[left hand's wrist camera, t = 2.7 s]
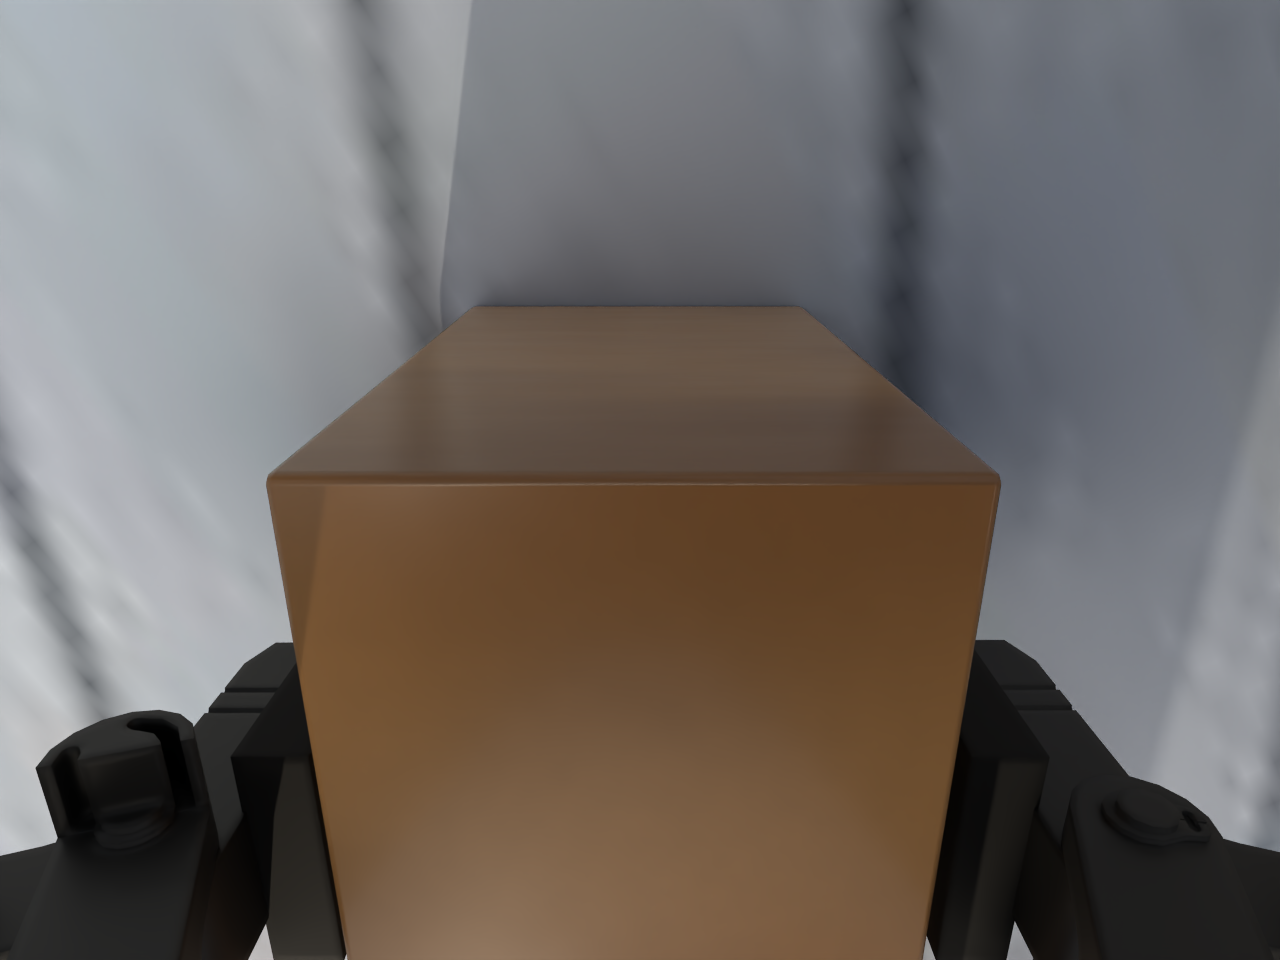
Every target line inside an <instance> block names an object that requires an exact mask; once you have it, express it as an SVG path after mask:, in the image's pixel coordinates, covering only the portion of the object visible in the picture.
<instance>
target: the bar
mask: <svg viewBox="0 0 1280 960" xmlns="http://www.w3.org/2000/svg"><path fill="white" fill-rule="evenodd" d="M266 487H267V492H268V498H269V504H270V510H271V516H272V522H273V527H274V533H275V539H276V545H277V551H278V557H279V562H280V568H281V574H282V580H283V586H284V592H285V597H286V603H287V609H288V615H289V621H290V627H291V632H292V638H293V644H294V650H295V656H296V662H297V667H298V673H299V679H300V685H301V691H302V697H303V702H304V708H305V714H306V720H307V726H308V731H309V737H310V743H311V749H312V755H313V761H314V766H315V772H316V778H317V784H318V790H319V796H320V801H321V807H322V813H323V819H324V825H325V831H326V836H327V842H328V848H329V854H330V860H331V866H332V871H333V877H334V883H335V889H336V895H337V901H338V906H339V912H340V918H341V924H342V930H343V936H344V941H345V947H346V953H347V959H348V960H922V959H923V953H924V947H925V941H926V935H927V929H928V923H929V917H930V911H931V905H932V899H933V893H934V887H935V881H936V875H937V869H938V863H939V857H940V851H941V845H942V839H943V832H944V826H945V820H946V814H947V808H948V802H949V796H950V790H951V784H952V778H953V772H954V766H955V760H956V754H957V748H958V742H959V736H960V730H961V724H962V718H963V712H964V706H965V700H966V694H967V688H968V682H969V675H970V669H971V663H972V657H973V651H974V645H975V639H976V633H977V627H978V621H979V615H980V609H981V603H982V597H983V591H984V585H985V579H986V573H987V567H988V561H989V555H990V549H991V543H992V537H993V531H994V524H995V518H996V512H997V506H998V500H999V494H1000V488H1001V480H1000V477H999V474H998V473H997V472H995V471H994V470H993V469H992V468H991V467H989V466H988V465H987V464H986V463H985V462H984V461H982V460H981V459H980V458H979V457H978V456H977V455H975V454H974V453H973V452H972V451H971V450H969V449H968V448H967V447H966V446H965V445H964V444H962V443H961V442H960V441H959V440H958V439H956V438H955V437H954V436H953V435H952V434H951V433H949V432H948V431H947V430H946V429H945V428H944V427H942V426H941V425H940V424H939V423H938V422H936V421H935V420H934V419H933V418H932V417H931V416H929V415H928V414H927V413H926V412H925V411H923V410H922V409H921V408H920V407H919V406H918V405H916V404H915V403H914V402H913V401H912V400H911V399H909V398H908V397H907V396H906V395H905V394H903V393H902V392H901V391H900V390H899V389H898V388H896V387H895V386H894V385H893V384H892V383H890V382H889V381H888V380H887V379H886V378H885V377H883V376H882V375H881V374H880V373H879V372H877V371H876V370H875V369H874V368H873V367H872V366H870V365H869V364H868V363H867V362H866V361H865V360H863V359H862V358H861V357H860V356H859V355H857V354H856V353H855V352H854V351H853V350H852V349H850V348H849V347H848V346H847V345H846V344H844V343H843V342H842V341H841V340H840V339H839V338H837V337H836V336H835V335H834V334H833V333H832V332H830V331H829V330H828V329H827V328H826V327H824V326H823V325H822V324H821V323H820V322H819V321H817V320H816V319H815V318H814V317H813V316H811V315H810V314H809V313H808V312H807V311H806V310H804V309H803V308H801V307H799V306H475V307H473V308H471V309H470V310H469V311H467V312H466V313H465V314H464V315H463V316H461V317H460V318H459V319H458V320H456V321H455V322H454V323H453V324H452V325H450V326H449V327H448V328H447V329H445V330H444V331H443V332H442V333H441V334H439V335H438V336H437V337H436V338H434V339H433V340H432V341H431V342H430V343H428V344H427V345H426V346H425V347H423V348H422V349H421V350H420V351H419V352H417V353H416V354H415V355H414V356H413V357H411V358H410V359H409V360H408V361H406V362H405V363H404V364H403V365H402V366H400V367H399V368H398V369H397V370H395V371H394V372H393V373H392V374H391V375H389V376H388V377H387V378H386V379H384V380H383V381H382V382H381V383H380V384H378V385H377V386H376V387H375V388H373V389H372V390H371V391H370V392H369V393H367V394H366V395H365V396H364V397H362V398H361V399H360V400H359V401H358V402H356V403H355V404H354V405H353V406H351V407H350V408H349V409H348V410H347V411H345V412H344V413H343V414H342V415H340V416H339V417H338V418H337V419H336V420H334V421H333V422H332V423H331V424H329V425H328V426H327V427H326V428H325V429H323V430H322V431H321V432H320V433H318V434H317V435H316V436H315V437H314V438H312V439H311V440H310V441H309V442H307V443H306V444H305V445H304V446H303V447H301V448H300V449H299V450H298V451H296V452H295V453H294V454H293V455H292V456H290V457H289V458H288V459H287V460H285V461H284V462H283V463H282V464H281V465H279V466H278V467H277V468H276V469H275V470H273V471H272V472H271V473H270V474H268V478H267V482H266Z"/></svg>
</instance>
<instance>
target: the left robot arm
mask: <svg viewBox="0 0 1280 960" xmlns="http://www.w3.org/2000/svg"><path fill="white" fill-rule="evenodd" d="M1055 686H1056V685H1055V684H1054V683H1053V681H1052V680H1051V679H1050V678H1049V676H1048V675H1047V674H1046V673H1045V671H1044V670H1043V669H1042V668H1041V666H1040V665H1039V664H1038V663H1037V661H1035V660H1034V659H1032V658H1031V657H1029V656H1028V655H1026V654H1025V653H1023V652H1022V651H1020V650H1019V649H1017V648H1016V647H1014V646H1013V645H1011V644H1010V643H1008V642H1007V641H1005V640H975V645H974V651H973V657H972V663H971V669H970V675H969V682H968V688H967V694H966V700H965V706H964V712H963V718H962V724H961V730H960V736H959V742H958V748H957V754H956V760H955V766H954V772H953V778H952V784H951V790H950V796H949V802H948V808H947V814H946V820H945V826H944V832H943V839H942V845H941V851H940V857H939V863H938V869H937V875H936V881H935V887H934V893H933V899H932V905H931V911H930V917H929V923H928V929H927V938H928V940H929V943H930V946H931V948H932V951H933V954H934V956H935V959H936V960H1006V958H1007V954H1008V949H1009V944H1010V940H1011V935H1012V930H1013V926H1014V921H1015V922H1016V924H1017V926H1018V928H1019V930H1020V932H1021V934H1022V936H1023V938H1024V940H1025V942H1026V944H1027V946H1028V948H1029V950H1030V952H1031V954H1032V956H1033V960H1280V852H1276V851H1272V850H1267V849H1263V848H1258V847H1254V846H1249V845H1245V844H1240V843H1237V842H1233V841H1230V840H1226V839H1223V837H1222V836H1221V834H1220V833H1219V831H1218V830H1217V828H1216V827H1215V826H1214V824H1213V823H1212V821H1211V820H1210V818H1209V817H1208V816H1206V815H1205V814H1204V813H1203V812H1202V811H1200V810H1199V809H1198V808H1197V807H1195V806H1194V805H1193V804H1192V803H1190V802H1189V801H1188V800H1187V799H1185V798H1183V797H1181V796H1179V795H1177V794H1175V793H1173V792H1171V791H1169V790H1167V789H1165V788H1164V787H1162V786H1160V785H1157V784H1153V783H1150V782H1147V781H1144V780H1140V779H1137V778H1134V777H1129V775H1128V774H1127V773H1126V772H1125V770H1124V769H1123V768H1122V767H1121V766H1120V764H1119V763H1118V762H1117V761H1116V759H1115V758H1114V757H1113V756H1112V754H1111V753H1110V752H1109V751H1108V749H1107V748H1106V747H1105V746H1104V744H1103V743H1102V742H1101V741H1100V740H1099V738H1098V737H1097V736H1096V735H1095V733H1094V732H1093V731H1092V730H1091V728H1090V727H1089V726H1088V725H1087V723H1086V722H1085V721H1084V720H1083V718H1082V717H1081V716H1080V715H1079V713H1078V712H1077V711H1076V710H1072V705H1071V704H1070V702H1069V701H1068V700H1067V699H1066V697H1065V696H1064V695H1063V694H1062V692H1061V691H1060V690H1056V687H1055ZM36 771H37V774H38V777H39V780H40V784H41V787H42V790H43V793H44V796H45V799H46V802H47V806H48V809H49V812H50V815H51V818H52V821H53V824H54V828H55V831H56V834H57V837H58V839H57V841H56V843H52V844H49V845H46V846H42V847H38V848H33V849H29V850H24V851H20V852H16V853H11V854H7V855H2V856H0V960H248V959H249V957H250V955H251V953H252V951H253V949H254V947H255V945H256V943H257V941H258V939H259V936H260V934H261V932H262V930H263V928H264V926H265V924H266V926H267V930H268V935H269V940H270V944H271V949H272V954H273V958H274V960H344V959H345V956H346V954H347V953H346V947H345V941H344V936H343V930H342V924H341V918H340V912H339V906H338V901H337V895H336V889H335V883H334V877H333V871H332V866H331V860H330V854H329V848H328V842H327V836H326V831H325V825H324V819H323V813H322V807H321V801H320V796H319V790H318V784H317V778H316V772H315V766H314V761H313V755H312V749H311V743H310V737H309V731H308V726H307V720H306V714H305V708H304V702H303V697H302V691H301V685H300V679H299V673H298V667H297V662H296V656H295V650H294V644H293V643H275V644H273V645H272V646H270V647H269V648H267V649H266V650H264V651H263V652H261V653H260V654H258V655H257V656H255V657H254V658H252V659H251V660H249V661H248V662H246V663H245V664H244V665H243V666H242V667H241V669H240V670H239V671H238V672H237V674H236V675H235V676H234V677H233V679H232V680H231V681H230V682H229V683H228V685H227V686H226V687H225V692H224V693H220V695H219V696H218V697H217V698H216V700H215V701H214V702H213V703H212V705H211V706H210V707H209V712H208V713H204V715H203V716H202V717H201V718H200V720H199V721H198V722H197V723H196V725H195V726H194V727H193V724H192V723H191V722H190V721H189V720H187V719H186V718H185V717H184V716H182V715H181V714H178V713H173V712H168V711H162V710H152V711H139V712H131V713H127V714H123V715H119V716H116V717H112V718H108V719H104V720H102V721H99V722H97V723H95V724H93V725H91V726H88V727H86V728H84V729H82V730H80V731H77V732H75V733H73V734H72V735H71V736H69V737H68V738H66V739H65V740H63V741H62V742H61V743H59V744H58V745H56V746H55V747H54V748H52V749H51V750H50V751H49V752H48V753H47V754H46V756H45V757H44V758H43V759H42V761H41V762H40V763H39V764H38V766H37V767H36Z"/></svg>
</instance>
